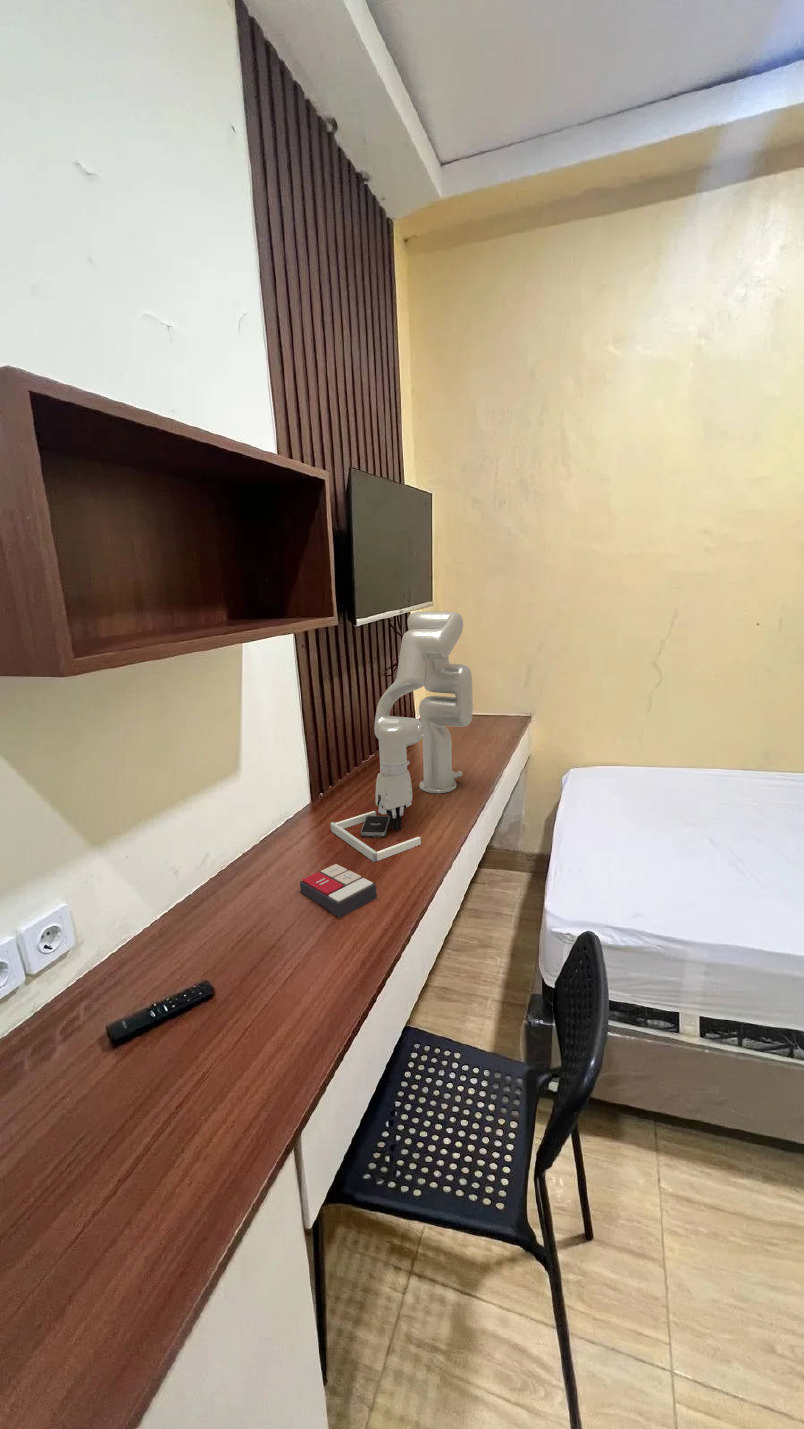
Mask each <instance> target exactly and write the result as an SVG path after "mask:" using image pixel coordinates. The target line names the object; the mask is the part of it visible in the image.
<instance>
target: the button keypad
mask: <svg viewBox="0 0 804 1429" xmlns="http://www.w3.org/2000/svg"><path fill="white" fill-rule="evenodd" d="M376 885H377V884H376V883H374V882H372V881H371V880H369V879H366V878H365V877H363V876H362V875H360V874H357V873H356V872H354V871H352V870H348V869H347V868H345V867H343V866H342V865H339V864H337V863H335V864H332V865H331V866H328V867H326V868H324V869H321V870H320V872H319V871H317V872H315V873H313V874H311V875H309V876H306V877H304V878H302V880H301V881H299V887H300V893H301V894H303V895H305V896H306V897H308V898H309V899H310V900H312V901H313V902H315V903H317V904H319V905H320V906H322V907H324V908H325V909H326V910H327V911H328V912H330V913H331V914H332V915H334V916H336V917H337V918H342V917H344V916H346V915H348V914H350V913H352V912H353V911H355V910H357V909H358V908H361V907H363V906H364V905H366V904H368V903H369V902H371V901H373V900H376V899H377V898H378V895H377V886H376Z"/></svg>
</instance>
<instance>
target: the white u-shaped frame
mask: <svg viewBox="0 0 804 1429" xmlns="http://www.w3.org/2000/svg"><path fill="white" fill-rule="evenodd" d="M367 816H377V811H376V810H372V811H369V812H366V813H363V814H359V815H357V816H353V817H350V818H347V819H343V820H340V821H337V822H334V821H332V822H330V824H329V825H330V831H331V833H332V834H335V836H337V837H338V838H340V839H341V840H342V841H344V842H346V843H347V844H348V845H349V846H351V847H352V848H354V849H355V850H357V851H358V852H360V853H361V854H362V855H364V856H365V857H366V858H368V859H369V860H370V861H372V862H374V863H376V862H378V861H381V860H384V859H386V858H390V857H391V856H394V855H398V854H400V853H402V852H405V851H408V850H410V849H413V848H415V846H416V847H418V845H419V846H421V844H422V842H421V841H422V840H421V839H422V838H421V837H420V836H416V837H414V838H410V839H408V840H405V841H403V842H400V843H396V844H394V845H392V846H389V847H387V848H383V849H381V850H379V851H376V850H375V849H373V848H372V847H370V846H369V845H367V844H366V843H365V842H363V841H361V840H360V839H358V838H357V837H355V836H354V835H352V833H350V832H349V831H348V830H346V829H347V828H349V827H353V826H356V825H359V824H362V823H364V822H365V819H366V817H367Z"/></svg>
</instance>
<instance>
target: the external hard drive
mask: <svg viewBox="0 0 804 1429" xmlns="http://www.w3.org/2000/svg"><path fill="white" fill-rule="evenodd" d="M389 826H390V816H389V815H376V816H367V817H366V819H365V822H363V825H362V827H361V830H360V837H361V838H368V839H369V838H373V839H374V838H376V839H377V838H378V839H382V838H383V839H385V837H387V832H388V828H389ZM378 836H379V837H378Z"/></svg>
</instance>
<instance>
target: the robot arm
mask: <svg viewBox="0 0 804 1429" xmlns="http://www.w3.org/2000/svg"><path fill="white" fill-rule="evenodd" d="M407 629H408V630H407V631H406V632H404V634H403V636H402V638H401V644H400V650H399V651H400V652H399V657H398V664H397V671H396V677H395V680H394V682H393V683H392V684H390V686H389V687H388V688H387V689H386V690H385V691H384V693H383V694H382V696H380V698H379V701H378V703H377V705H376V712H375V717H374V727H373V728H374V730H373V731H374V735H375V737H376V739H378V747H379V749H378V750H379V771H380V772H379V773H377V777H376V783H375V805H376V807H378V810H377V812H378V813H379V814H380V815H387V816H389V817H390V822H389V826H390V828H391V829H393V830H394V831H396V832H397V831H399V830H400V831H401V830H402V824H403V823H402V821H403V820H402V816H404V812H405V810H406V809H407V808H408V807H410V806H411V805H412V801H413V785H412V777H411V774H410V771H409V770H408V765H410V764H411V762H410V760H409V759H408V756H407V754H408V753H407V747H409V746H413V745H415V744H418V743H419V742H421V740H422V760H423V761H422V762H423V780H421V781H420V782H419V783H418V784H419V789H420V790H421V791H423V792H426V793H428V794H445V793H450V792H453V791H454V790H455V789H456V788H457V782H456V781H455V780H456V779H457V778H460V777H463V772H462V771H461V770H459V771H456V772H455V771H454V770H453V769H452V767H453V766H452V735H451V733H450V731H449V729H448V727H458V728H461V727H462V728H463V727H464V728H465V727H467V726H469V725H470V724H471V722H472V719H473V708H474V707H473V705H474V704H473V675H472V672H471V669H470V668H469V666H468V665H465V664H463V663H461V664H459V663H450V660H449V657H450V655H451V653H452V652H453V650H454V648H455V646H456V645H457V643H458V641H459V640H460V638H461V635H462V633H463V629H464V621H463V618H462V615H461V614H460V613H458V612H457V611H436V610H434V611H431V610H429V611H427V610H426V611H417V612H412V613H411V614H410V615H409V616H408V617H407ZM423 687H424V689H425V690H426V691H427V692H430V693H438V694H451V695H454V696H447V695H446V696H444V695H429V696H426V697H424V698H423V699H422V700H420V703H419V705H418V712H419V717H420V719H418V718H415V717H404V716H395V715H391V709H392V708H393V706H394V704H395V703H396V702H397V701H398V700H399V699H400V698H401V697H403V696H405V695H408V693H409V694H410V693H412V692H414V691H417V690H419V689H421V688H423ZM407 759H408V760H407Z"/></svg>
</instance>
